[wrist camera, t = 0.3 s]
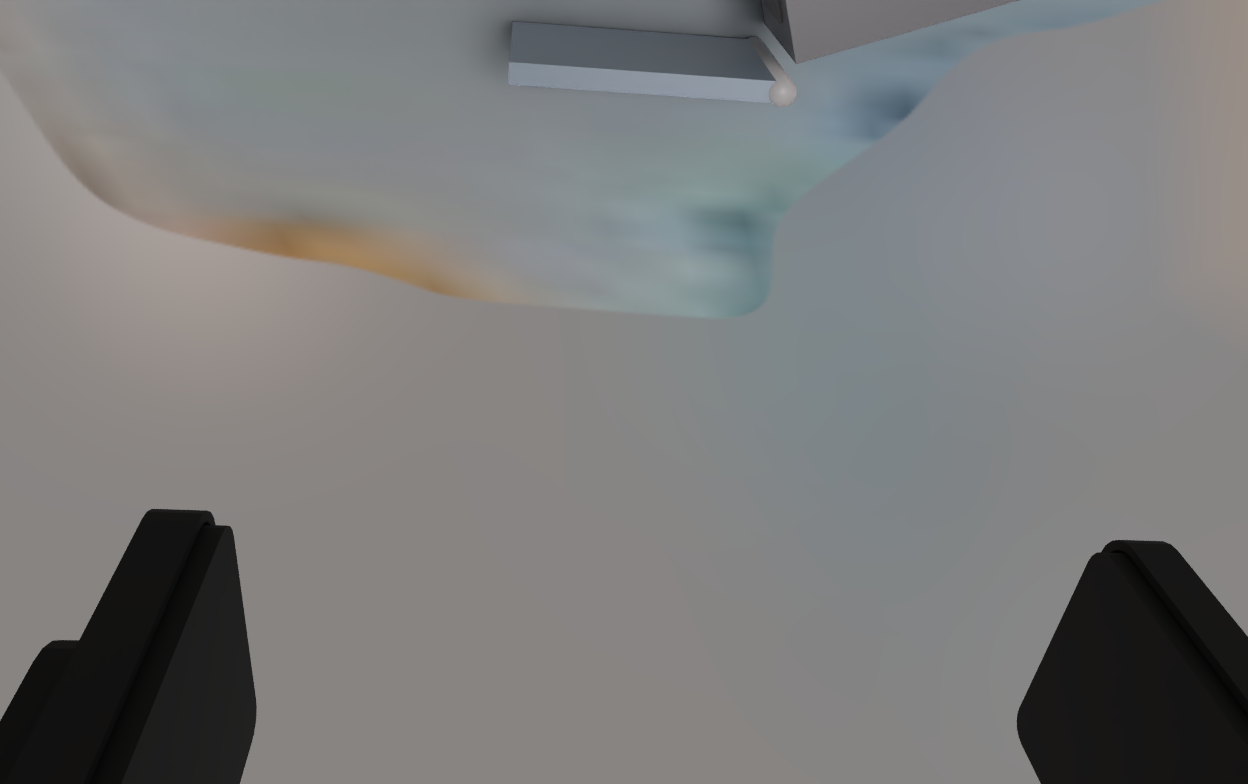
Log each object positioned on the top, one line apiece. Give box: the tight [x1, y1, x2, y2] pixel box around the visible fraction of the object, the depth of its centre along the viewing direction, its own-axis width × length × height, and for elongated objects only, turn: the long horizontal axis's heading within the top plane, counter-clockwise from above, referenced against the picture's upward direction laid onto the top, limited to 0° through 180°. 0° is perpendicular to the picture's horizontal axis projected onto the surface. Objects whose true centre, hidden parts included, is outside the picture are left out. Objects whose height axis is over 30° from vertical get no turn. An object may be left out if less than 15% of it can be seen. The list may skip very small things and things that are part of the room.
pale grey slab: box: [508, 21, 797, 107], centre depth 38 cm, size 10×2×6 cm, turn 85°
